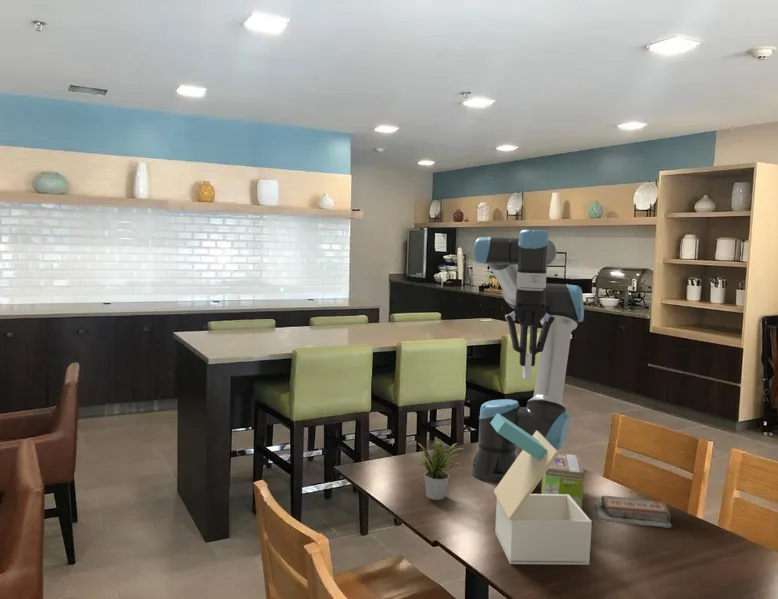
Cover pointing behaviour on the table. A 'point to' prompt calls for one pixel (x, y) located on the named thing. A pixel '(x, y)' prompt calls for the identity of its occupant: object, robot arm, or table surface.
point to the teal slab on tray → (522, 465)
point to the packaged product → (633, 511)
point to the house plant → (437, 471)
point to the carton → (545, 531)
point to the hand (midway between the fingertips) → (526, 378)
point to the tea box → (565, 478)
